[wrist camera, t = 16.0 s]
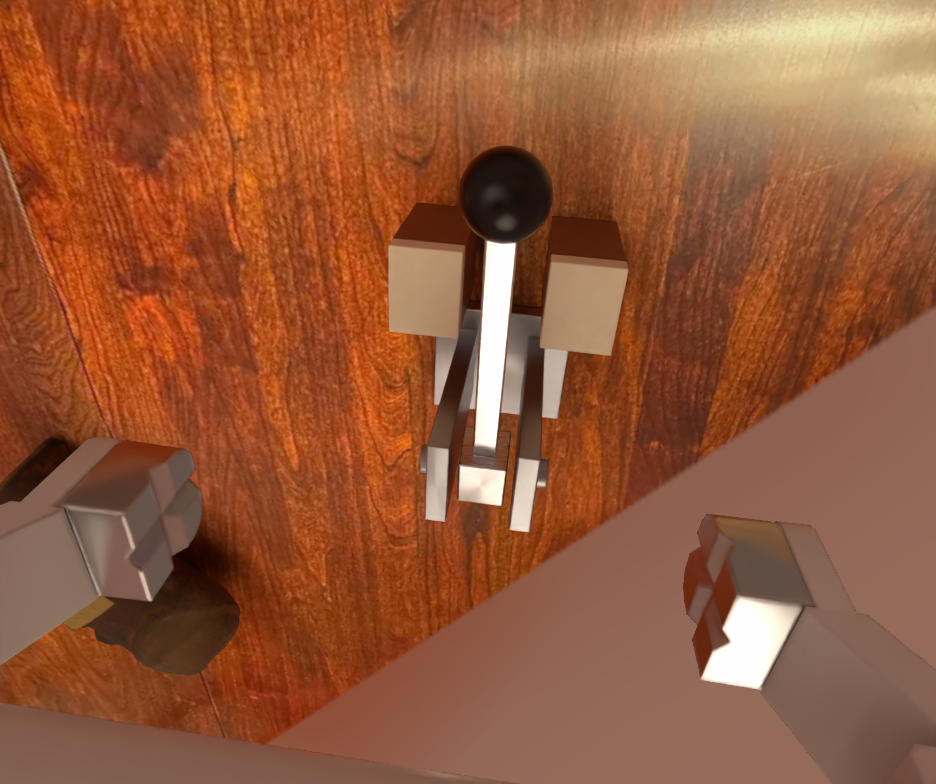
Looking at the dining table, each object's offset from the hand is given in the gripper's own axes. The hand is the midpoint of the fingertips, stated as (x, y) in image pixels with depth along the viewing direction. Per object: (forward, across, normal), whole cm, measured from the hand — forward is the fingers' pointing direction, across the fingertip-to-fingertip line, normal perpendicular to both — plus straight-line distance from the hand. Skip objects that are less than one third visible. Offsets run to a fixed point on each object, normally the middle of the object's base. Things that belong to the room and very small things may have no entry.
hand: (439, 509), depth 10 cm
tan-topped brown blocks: (+27, 0, +5) cm, 28 cm away
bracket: (+27, 0, +12) cm, 30 cm away
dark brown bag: (+27, +29, +33) cm, 52 cm away
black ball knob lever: (+16, 0, +5) cm, 17 cm away
